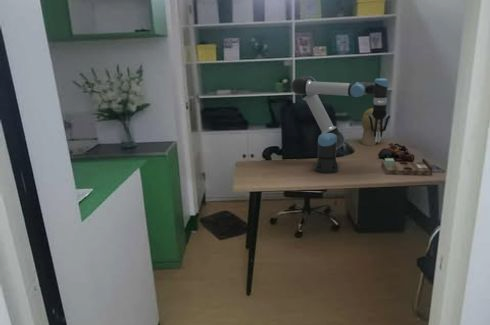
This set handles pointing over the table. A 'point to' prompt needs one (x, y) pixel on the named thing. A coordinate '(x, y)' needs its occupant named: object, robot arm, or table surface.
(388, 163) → the block
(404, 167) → the board
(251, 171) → the table surface
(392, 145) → the character figurine
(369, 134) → the bust
